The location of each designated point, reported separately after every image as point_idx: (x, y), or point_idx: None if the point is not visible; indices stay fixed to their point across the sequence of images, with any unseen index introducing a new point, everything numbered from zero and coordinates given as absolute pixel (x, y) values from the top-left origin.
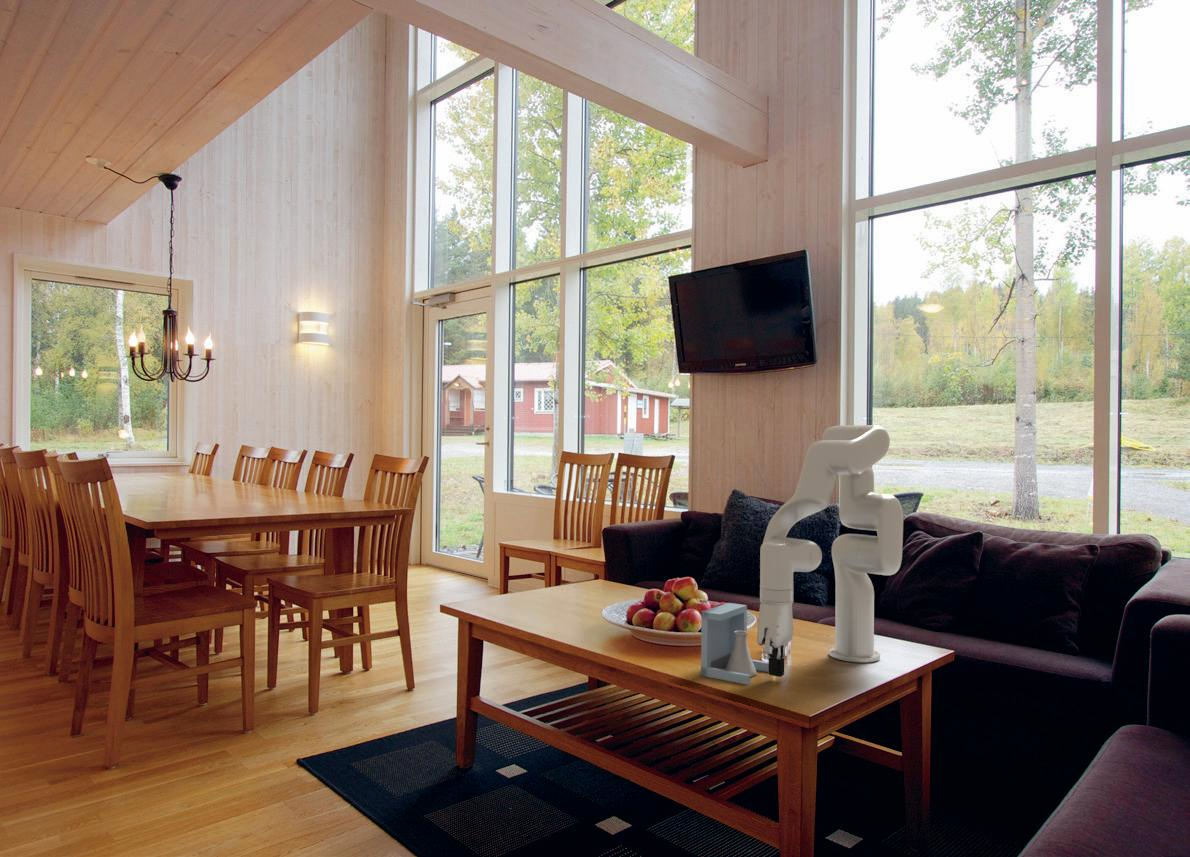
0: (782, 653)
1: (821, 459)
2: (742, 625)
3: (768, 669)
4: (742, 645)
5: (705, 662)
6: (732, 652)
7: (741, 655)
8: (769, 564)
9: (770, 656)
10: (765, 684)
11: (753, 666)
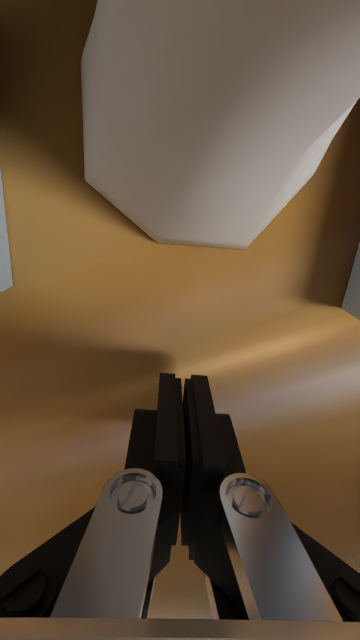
0: (211, 599)
1: None
2: None
3: (356, 294)
4: (152, 48)
5: None
6: None
7: (112, 118)
8: None
9: (86, 521)
10: (68, 365)
11: (234, 235)
